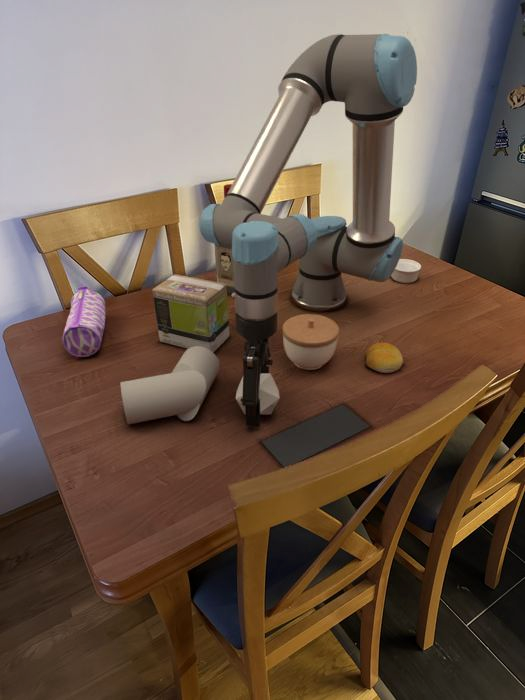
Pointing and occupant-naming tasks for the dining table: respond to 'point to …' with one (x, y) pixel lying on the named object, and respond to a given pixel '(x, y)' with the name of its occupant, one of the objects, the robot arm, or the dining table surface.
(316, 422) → the edge mat
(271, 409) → the die
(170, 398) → the bent grey cylinder
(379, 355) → the bread roll
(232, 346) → the dining table surface
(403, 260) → the ramekin
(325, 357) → the cork-lidded white jar
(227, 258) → the liquor
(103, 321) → the pencil case
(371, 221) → the robot arm
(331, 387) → the dining table surface
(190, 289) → the tea box
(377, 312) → the dining table surface
